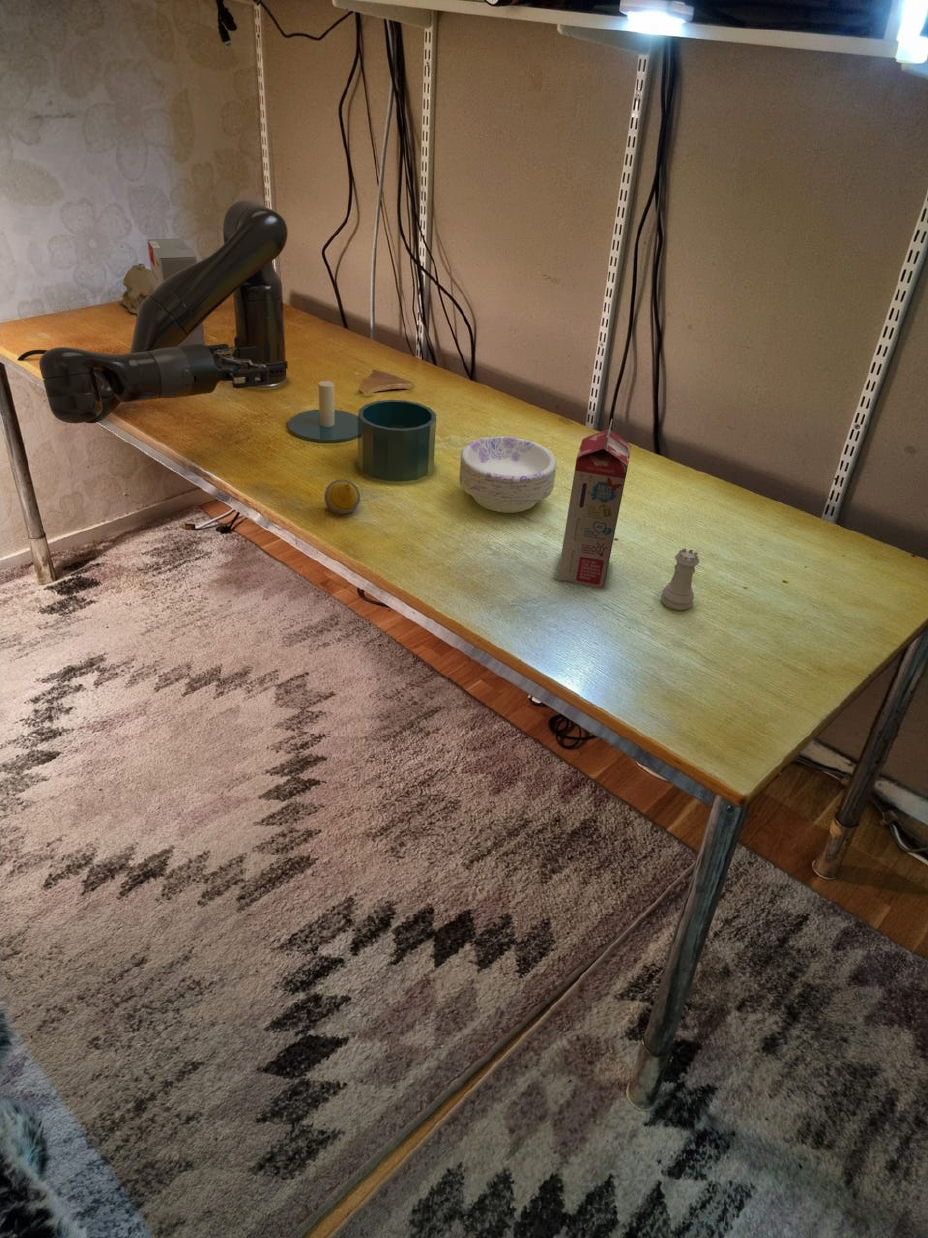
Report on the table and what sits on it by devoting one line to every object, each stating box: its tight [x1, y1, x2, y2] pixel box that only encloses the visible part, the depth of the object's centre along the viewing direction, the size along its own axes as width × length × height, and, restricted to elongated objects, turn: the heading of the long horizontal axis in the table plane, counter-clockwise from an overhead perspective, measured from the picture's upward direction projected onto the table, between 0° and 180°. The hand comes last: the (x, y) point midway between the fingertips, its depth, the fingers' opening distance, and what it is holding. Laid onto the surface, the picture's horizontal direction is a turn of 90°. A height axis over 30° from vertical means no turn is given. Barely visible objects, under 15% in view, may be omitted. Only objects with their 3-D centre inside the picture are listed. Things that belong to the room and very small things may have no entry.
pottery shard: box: [358, 369, 412, 395], centre depth 177 cm, size 10×9×2 cm
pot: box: [357, 399, 437, 483], centre depth 146 cm, size 13×13×10 cm
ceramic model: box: [121, 263, 154, 315], centre depth 208 cm, size 14×11×10 cm
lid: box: [287, 380, 358, 444], centre depth 157 cm, size 14×14×9 cm
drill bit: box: [323, 478, 361, 516], centre depth 132 cm, size 5×5×10 cm
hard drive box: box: [146, 238, 206, 346], centre depth 186 cm, size 16×8×20 cm, turn 25°
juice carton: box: [556, 418, 632, 589], centre depth 119 cm, size 7×7×22 cm
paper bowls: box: [458, 436, 558, 514], centre depth 139 cm, size 15×15×8 cm
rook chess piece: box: [660, 547, 700, 611], centre depth 118 cm, size 4×4×8 cm
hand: (271, 360), depth 145 cm, fingers open, 8 cm apart
